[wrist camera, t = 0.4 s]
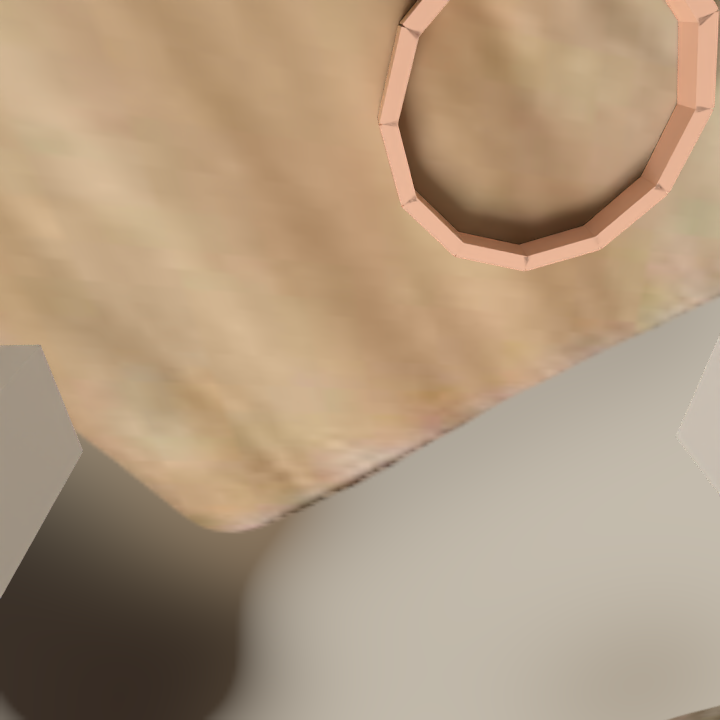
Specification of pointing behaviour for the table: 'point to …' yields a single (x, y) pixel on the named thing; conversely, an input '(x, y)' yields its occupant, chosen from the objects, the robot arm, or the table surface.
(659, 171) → the pink segmented ring
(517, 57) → the table surface
